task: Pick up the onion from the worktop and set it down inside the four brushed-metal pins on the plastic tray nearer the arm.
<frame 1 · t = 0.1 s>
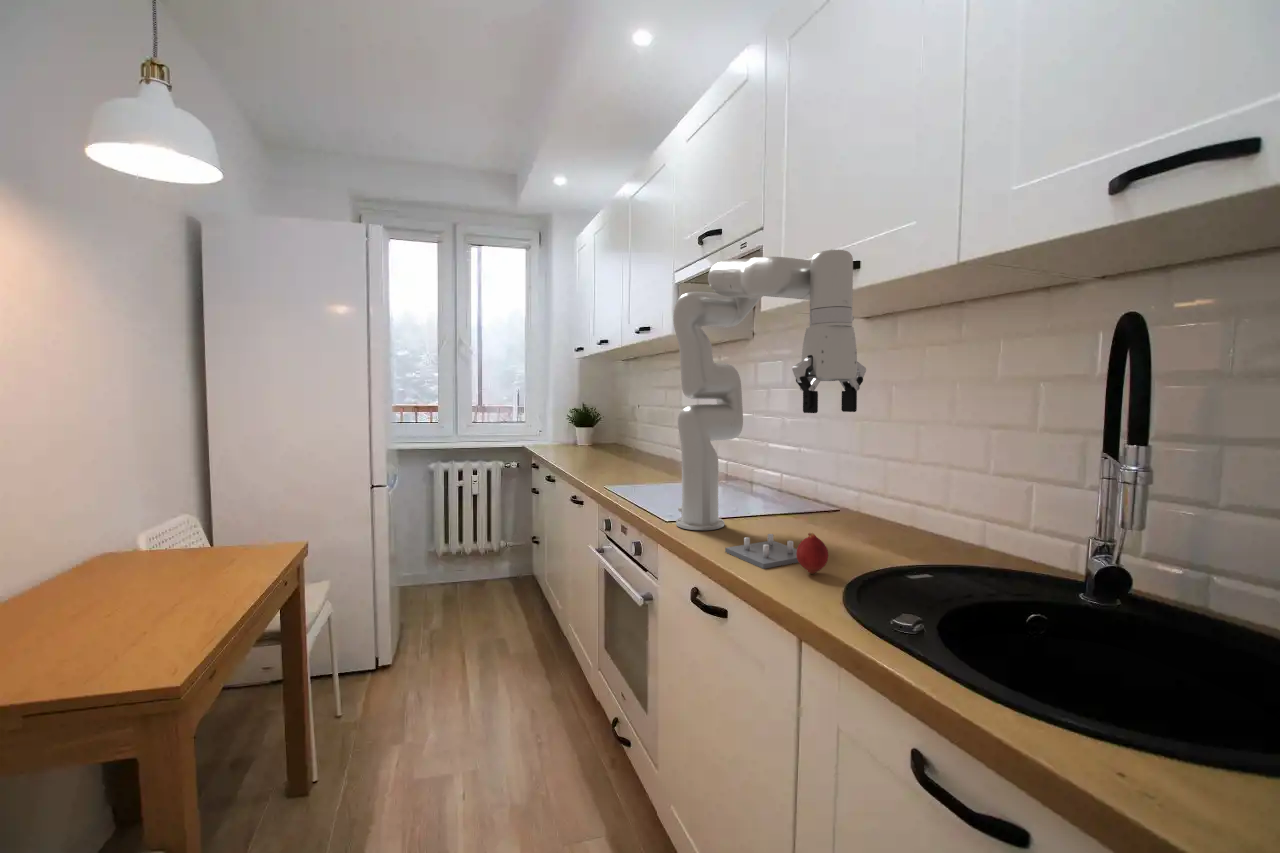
hand: (830, 412, 105), 31 cm above the counter, tool pointing down, fingers open, 9 cm apart
pin tray: (768, 555, 120), on the counter
onion: (812, 574, 108), on the counter
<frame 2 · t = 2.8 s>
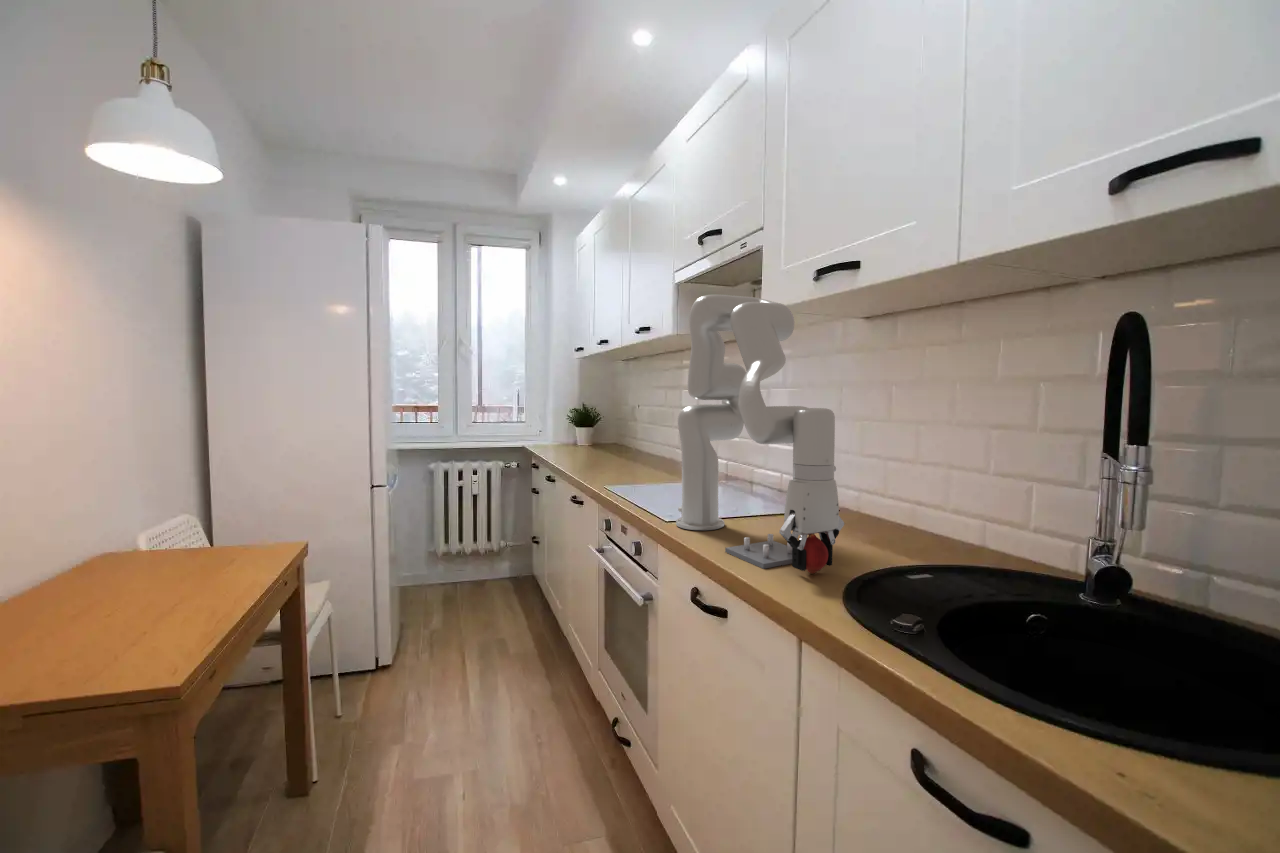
hand: (812, 565, 108), 2 cm above the counter, tool pointing down, fingers closed on onion, 5 cm apart
onion: (812, 574, 108), on the counter, touching gripper
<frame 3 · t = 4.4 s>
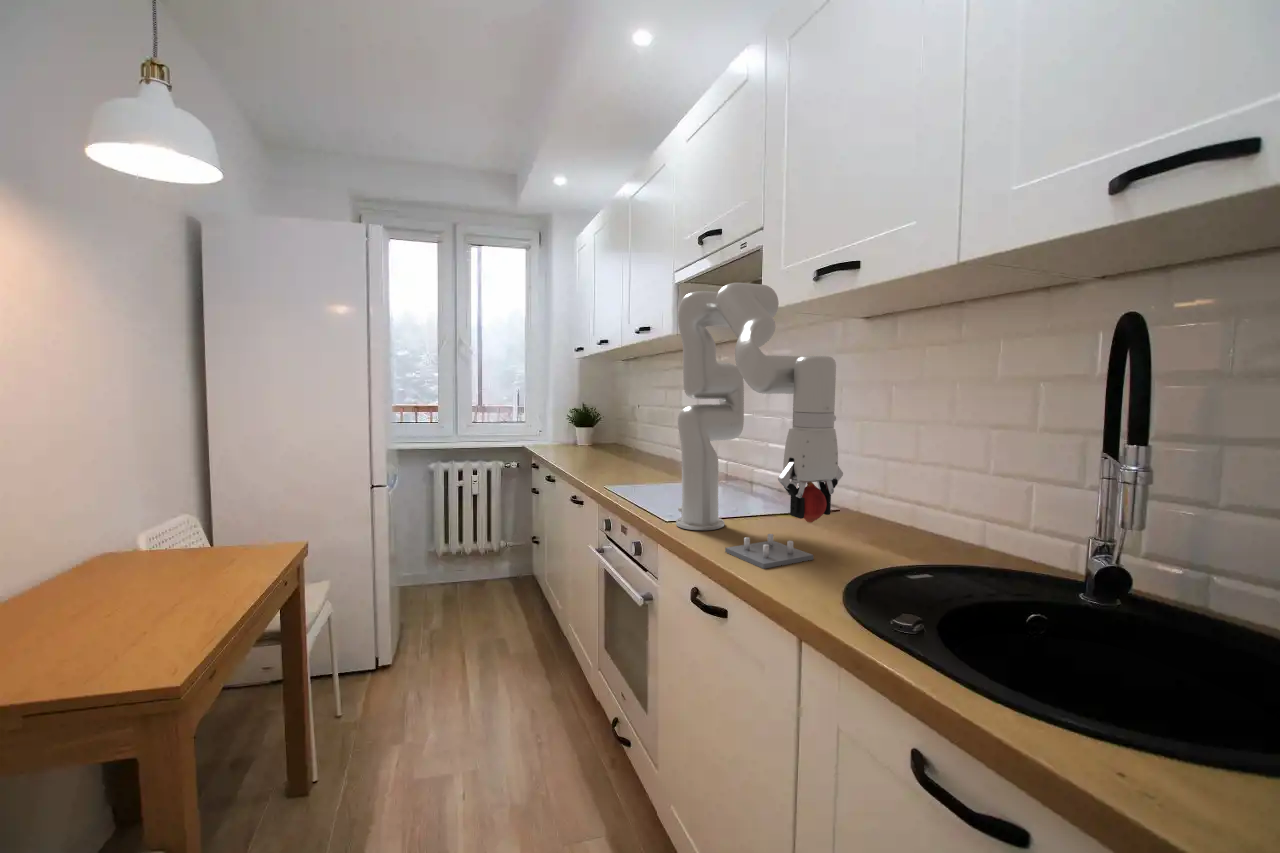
hand: (810, 514, 108), 11 cm above the counter, tool pointing down, fingers closed on onion, 5 cm apart
onion: (810, 523, 108), point 10 cm above the counter, touching gripper
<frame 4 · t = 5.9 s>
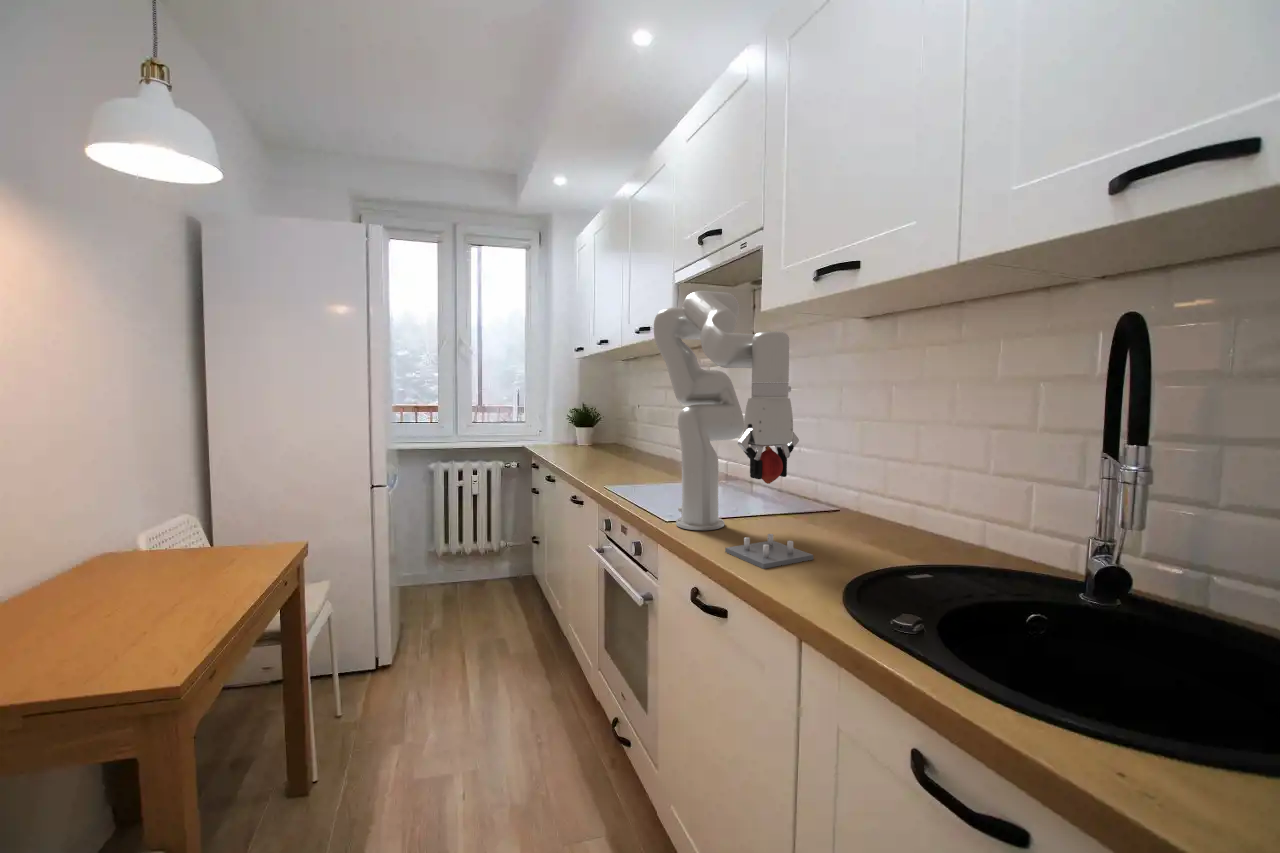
hand: (768, 476, 119), 17 cm above the counter, tool pointing down, fingers closed on onion, 5 cm apart
onion: (768, 484, 119), point 15 cm above the counter, touching gripper
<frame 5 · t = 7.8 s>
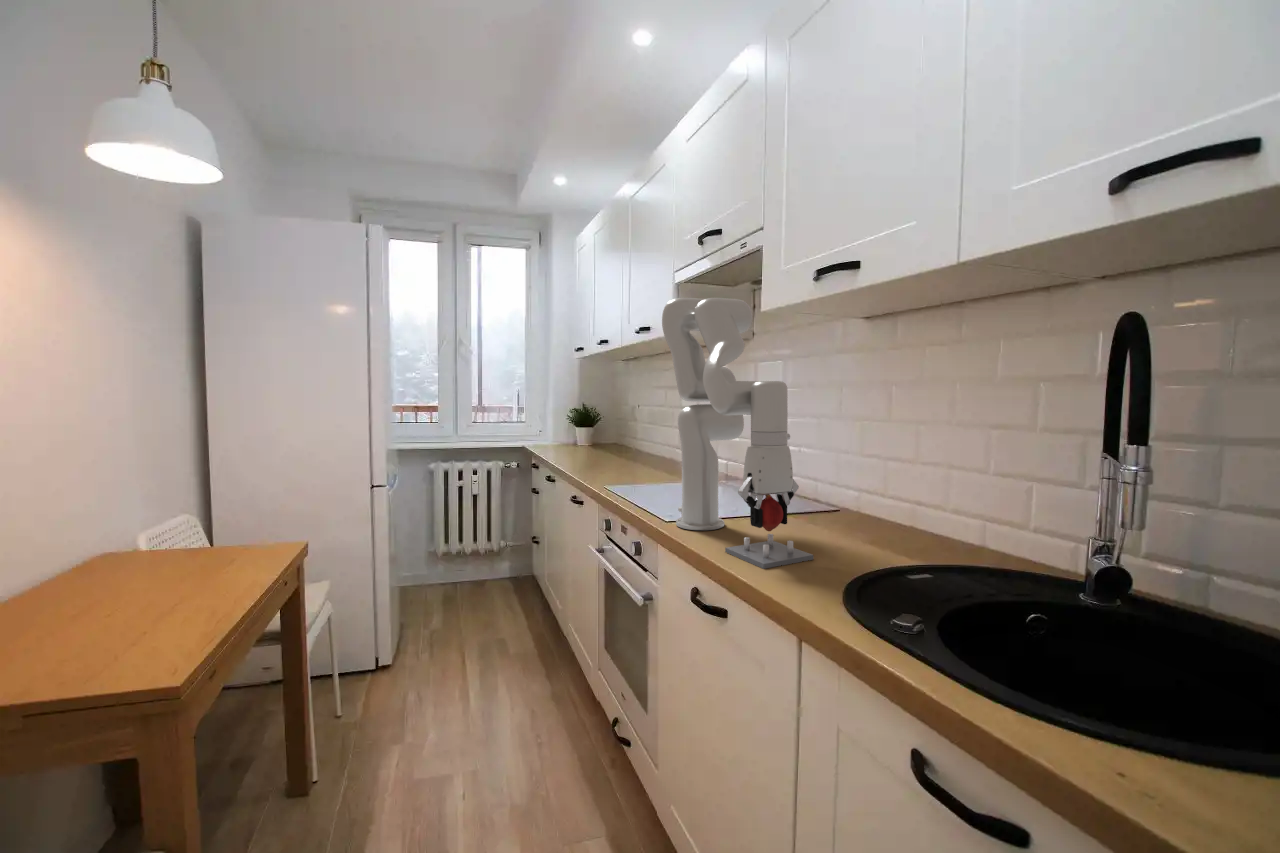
hand: (769, 524, 119), 7 cm above the counter, tool pointing down, fingers closed on onion, 5 cm apart
onion: (769, 532, 119), point 5 cm above the counter, touching gripper
when the fingers open (4 cm above the counter, at t = 9.3 s): onion drops 2 cm, resting on pin tray.
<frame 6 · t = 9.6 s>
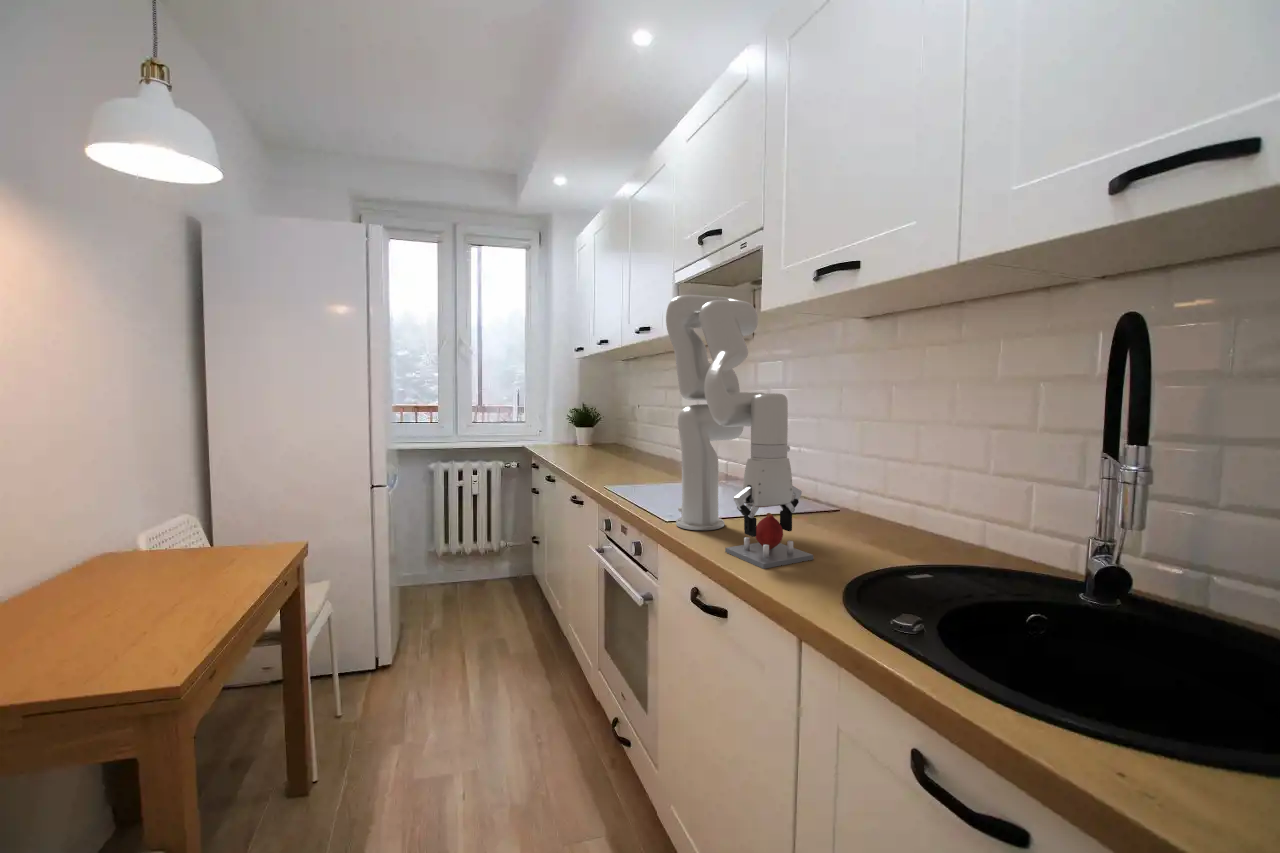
hand: (768, 532, 119), 5 cm above the counter, tool pointing down, fingers open, 9 cm apart
onion: (767, 551, 120), point 1 cm above the counter, touching pin tray
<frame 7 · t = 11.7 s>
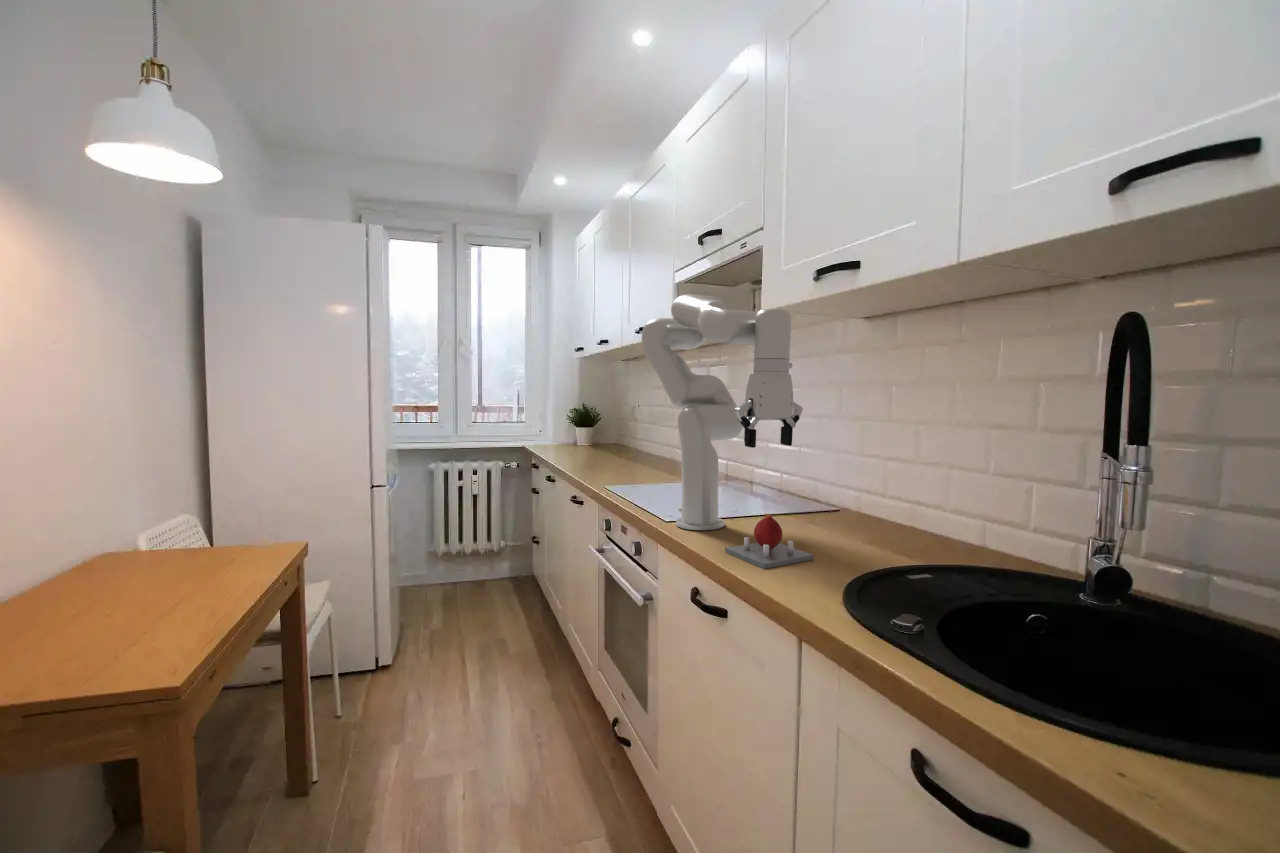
hand: (768, 445, 123), 23 cm above the counter, tool pointing down, fingers open, 9 cm apart
nothing on the counter moved.
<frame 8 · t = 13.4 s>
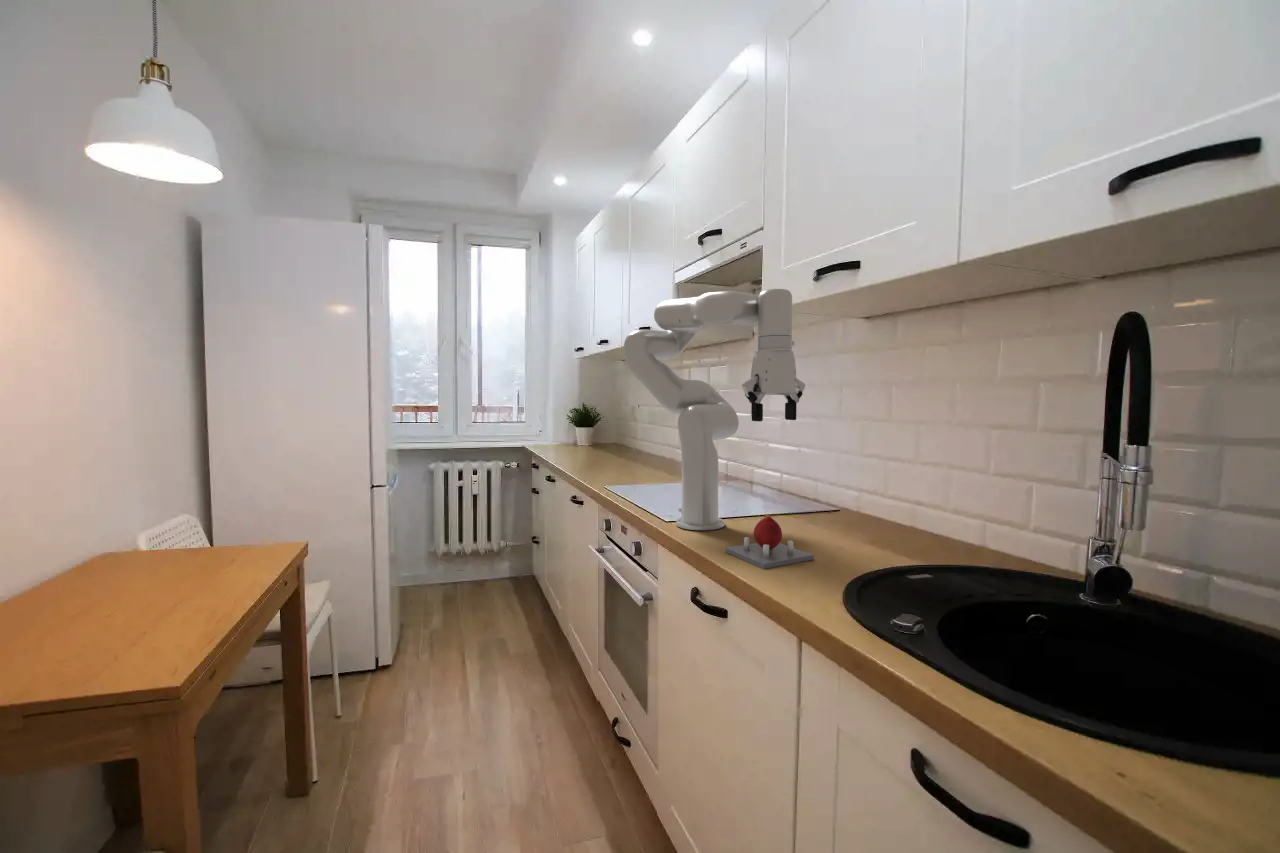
hand: (774, 420, 129), 28 cm above the counter, tool pointing down, fingers open, 9 cm apart
nothing on the counter moved.
at the end: onion 0.2 cm off-centre on the pin tray, point 0.8 cm above the pin tray's base; onion touching pin tray; the gripper is holding nothing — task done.
